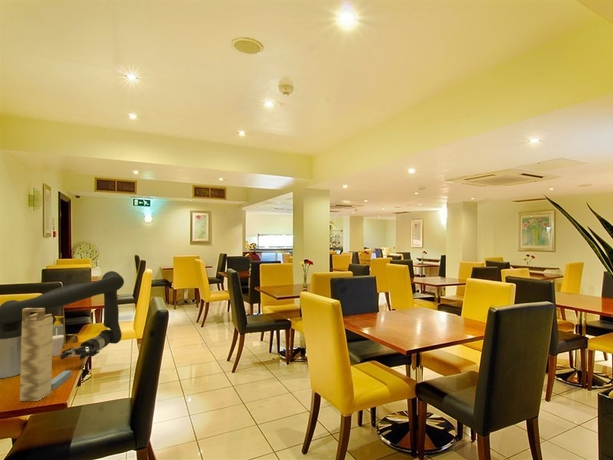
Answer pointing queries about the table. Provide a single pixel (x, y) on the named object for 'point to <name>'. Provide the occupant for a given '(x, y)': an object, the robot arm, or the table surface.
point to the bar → (60, 379)
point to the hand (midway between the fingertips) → (71, 357)
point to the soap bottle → (58, 328)
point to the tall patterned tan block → (36, 354)
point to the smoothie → (57, 344)
